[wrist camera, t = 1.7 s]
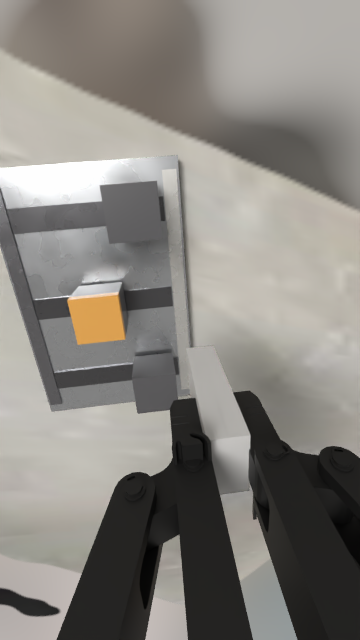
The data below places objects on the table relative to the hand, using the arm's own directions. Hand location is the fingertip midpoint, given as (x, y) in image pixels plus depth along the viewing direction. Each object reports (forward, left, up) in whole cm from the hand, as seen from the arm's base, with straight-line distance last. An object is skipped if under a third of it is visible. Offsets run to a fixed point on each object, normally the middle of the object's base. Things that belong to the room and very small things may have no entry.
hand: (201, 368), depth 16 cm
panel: (-7, 0, -15) cm, 17 cm away
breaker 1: (-3, +8, -13) cm, 15 cm away
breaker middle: (-7, 0, -13) cm, 15 cm away
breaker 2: (-3, -8, -13) cm, 15 cm away
